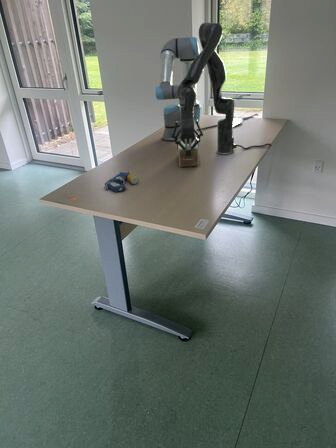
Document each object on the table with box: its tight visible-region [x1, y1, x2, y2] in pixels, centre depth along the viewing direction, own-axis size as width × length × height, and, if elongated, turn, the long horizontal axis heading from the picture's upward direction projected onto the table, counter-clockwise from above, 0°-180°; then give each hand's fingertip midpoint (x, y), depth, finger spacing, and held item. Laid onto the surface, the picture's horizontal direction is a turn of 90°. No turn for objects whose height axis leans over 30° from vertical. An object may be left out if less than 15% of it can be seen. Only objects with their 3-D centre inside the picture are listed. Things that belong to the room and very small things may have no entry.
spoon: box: [233, 117, 243, 128], centre depth 261 cm, size 35×11×2 cm, turn 159°
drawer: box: [178, 150, 199, 167], centre depth 199 cm, size 23×10×9 cm, turn 179°
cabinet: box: [177, 139, 200, 168], centre depth 204 cm, size 18×12×11 cm, turn 179°
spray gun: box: [103, 170, 139, 193], centre depth 182 cm, size 21×4×15 cm
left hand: (188, 148), depth 207 cm, fingers closed on cabinet, 12 cm apart
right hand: (188, 156), depth 190 cm, fingers closed
